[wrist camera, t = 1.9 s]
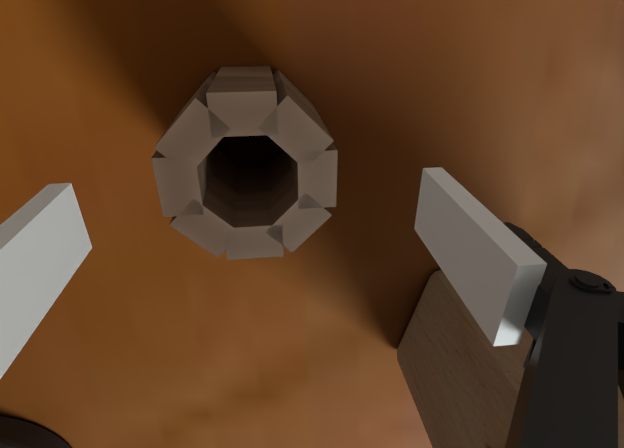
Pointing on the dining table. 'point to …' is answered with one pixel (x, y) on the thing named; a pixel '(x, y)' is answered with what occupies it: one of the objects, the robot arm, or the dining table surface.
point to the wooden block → (463, 372)
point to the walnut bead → (246, 181)
